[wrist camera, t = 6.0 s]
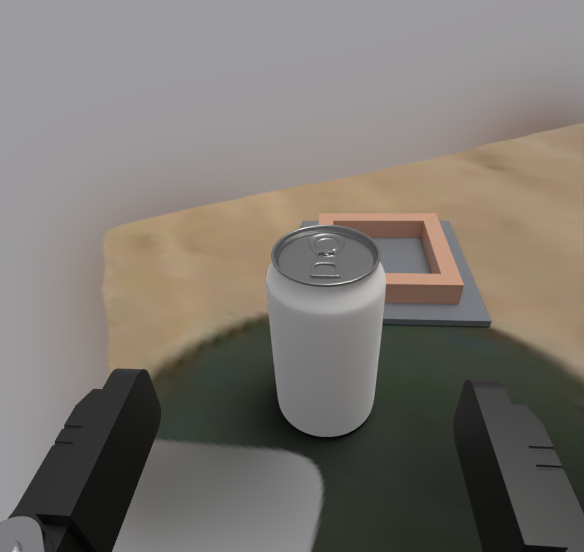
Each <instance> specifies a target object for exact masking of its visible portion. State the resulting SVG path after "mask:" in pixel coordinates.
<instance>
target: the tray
mask: <svg viewBox="0 0 584 552" xmlns="http://www.w3.org/2000/svg"><path fill="white" fill-rule="evenodd" d="M314 225H338V226H345V227H349V228H353V229H356V230H358V231H361V232H363V233H365V234H366V235H368V236H369V237H371V238H372V239H373V240H374V241H375V242H376V243H377V245H378V247H379V249H380V252H381V259H380V262H381V264H382V267H383V269H384V272H385V276H386V291H385V302H384V312H383V322H382V324H398V325H439V326H481V327H490V324H491V319H490V316H489V314H488V312H487V309H486V307H485V305H484V302H483V300H482V298H481V295H480V293H479V291H478V288H477V286H476V284H475V281H474V279H473V277H472V274H471V272H470V270H469V267H468V265H467V263H466V260H465V258H464V256H463V253H462V251H461V249H460V246H459V244H458V242H457V239H456V237H455V235H454V232H453V230H452V228H451V225H450V223H449V221H439V220H438V217H437V214H319V221H302V226H301V228H304V227H308V226H314Z"/></svg>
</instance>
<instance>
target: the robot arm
mask: <svg viewBox="0 0 584 552" xmlns="http://www.w3.org/2000/svg"><path fill="white" fill-rule="evenodd" d="M160 419H161V407H160V403H159V400H158V398H157V395H156V392H155V389H154V387H153V384H152V381H151V378H150V376H149V373H148V372H147V370H144V369H115V370H114V371H113V372H112V373H111V374H110V376H109V378H108V380H107V381H106V383H105V385H104V387H103V389H93V390H92V391H91V392H90V393H89V394H88V395H86V396H85V397H84V398H83V399H82V400H81V401H80V402H79V403H78V404H77V405H76V406H75V408H74V410H73V411H72V413H71V415H70V416H69V418H68V420H67V421H66V423H65V425H64V426H65V427H64V429H62V430H61V432H60V433H59V435H58V437H57V438H56V440H55V445H54V446H52V447H51V449H50V450H49V452H48V454H47V456H46V457H45V459H44V461H43V462H42V464H41V466H40V468H39V469H38V471H37V473H36V474H35V476H34V478H33V480H32V481H31V483H30V485H29V486H28V488H27V490H26V492H25V493H24V495H23V497H22V498H21V500H20V502H19V504H18V505H17V507H16V508H15V510H14V511H13V513H12V514H11V515H10V516H9V518H8V519H7V520H4V521H2V522H0V552H112V550H113V547H114V545H115V542H116V540H117V537H118V534H119V531H120V529H121V526H122V524H123V521H124V518H125V516H126V513H127V510H128V508H129V505H130V503H131V500H132V497H133V495H134V492H135V489H136V487H137V484H138V481H139V479H140V476H141V473H142V471H143V468H144V466H145V463H146V460H147V458H148V454H149V452H150V450H151V447H152V444H153V442H154V439H155V436H156V434H157V431H158V428H159V425H160ZM453 430H454V439H455V444H456V448H457V452H458V456H459V460H460V464H461V468H462V472H463V476H464V480H465V483H466V487H467V491H468V495H469V499H470V503H471V507H472V511H473V515H474V519H475V523H476V527H477V531H478V535H479V539H480V543H481V547H482V551H483V552H584V513H583V511H582V509H581V507H580V505H579V502H578V500H577V498H576V496H575V494H574V491H573V489H572V487H571V485H570V483H569V480H568V478H567V476H566V474H565V471H563V470H562V465H561V463H560V460H559V458H558V456H557V454H556V452H555V451H554V450H553V445H552V443H551V441H550V438H549V436H548V434H547V432H546V430H545V427H544V425H543V424H542V423H541V421H540V420H539V419H538V418H537V417H536V416H535V415H534V414H533V413H532V412H531V411H530V409H529V408H528V407H527V406H526V405H521V404H511V402H510V400H509V397H508V395H507V392H506V390H505V387H504V385H503V384H502V383H501V382H500V381H498V380H466V381H465V383H464V385H463V389H462V392H461V395H460V399H459V402H458V405H457V409H456V412H455V415H454V422H453Z"/></svg>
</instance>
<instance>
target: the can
mask: <svg viewBox="0 0 584 552" xmlns="http://www.w3.org/2000/svg"><path fill="white" fill-rule="evenodd" d="M271 259H272V263H271V265H270V267H269V269H268V272H267V277H266V288H267V300H268V311H269V321H270V331H271V340H272V350H273V359H274V369H275V378H276V387H277V395H278V402H279V406H280V409H281V411H282V413H283V415H284V416H285V418H286V419H287V420H288V421H289V422H290V423H291V424H292V425H293V426H294V427H296V428H297V429H299V430H301V431H303V432H305V433H307V434H310V435H314V436H320V437H334V436H340V435H344V434H347V433H349V432H351V431H353V430H355V429H356V428H358V427H359V426H360V425H361V424H362V423H363V422H364V421H365V420H366V419H367V417H368V416H369V414H370V412H371V409H372V406H373V400H374V393H375V385H376V376H377V367H378V358H379V349H380V340H381V331H382V322H383V312H384V302H385V291H386V276H385V272H384V269H383V267H382V264H381V262H380V259H381V252H380V249H379V247H378V245H377V243H376V242H375V241H374V240H373V239H372V238H371V237H369V236H368V235H366V234H365V233H363V232H361V231H358V230H356V229H353V228H349V227H345V226H338V225H314V226H308V227H304V228H300V229H297V230H294V231H292V232H290V233H288V234H286V235H285V236H283V237H282V238H281V239H279V240H278V241H277V243H276V244H275V245H274V247H273V249H272V253H271Z"/></svg>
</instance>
